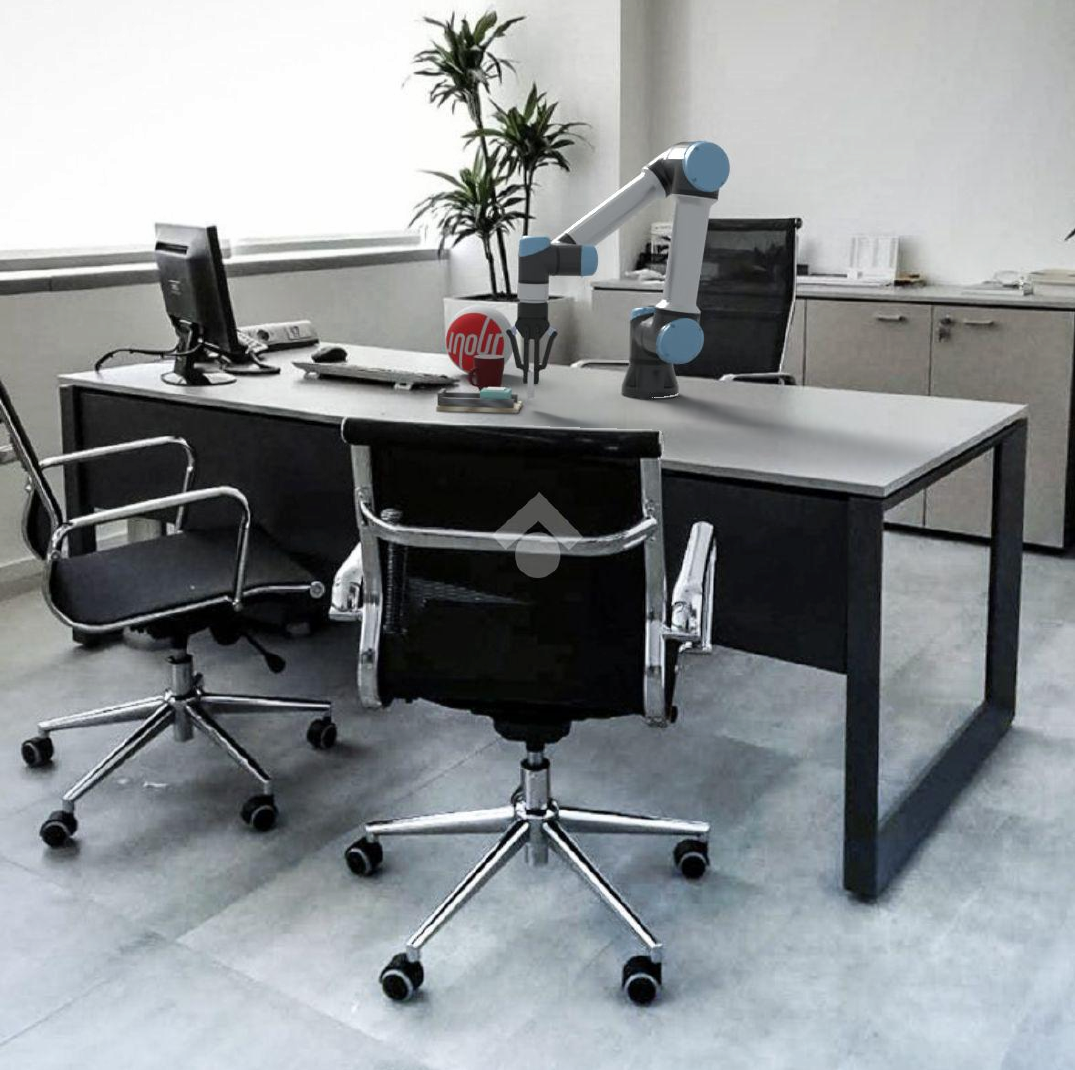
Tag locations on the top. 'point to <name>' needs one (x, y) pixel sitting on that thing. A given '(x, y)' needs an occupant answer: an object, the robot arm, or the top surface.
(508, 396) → the block
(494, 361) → the mug
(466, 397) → the rail mount
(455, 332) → the decorative sphere
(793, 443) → the top surface
